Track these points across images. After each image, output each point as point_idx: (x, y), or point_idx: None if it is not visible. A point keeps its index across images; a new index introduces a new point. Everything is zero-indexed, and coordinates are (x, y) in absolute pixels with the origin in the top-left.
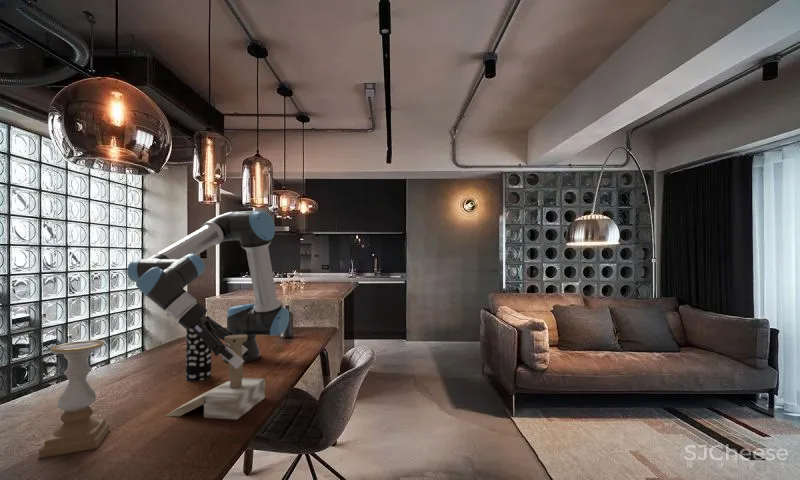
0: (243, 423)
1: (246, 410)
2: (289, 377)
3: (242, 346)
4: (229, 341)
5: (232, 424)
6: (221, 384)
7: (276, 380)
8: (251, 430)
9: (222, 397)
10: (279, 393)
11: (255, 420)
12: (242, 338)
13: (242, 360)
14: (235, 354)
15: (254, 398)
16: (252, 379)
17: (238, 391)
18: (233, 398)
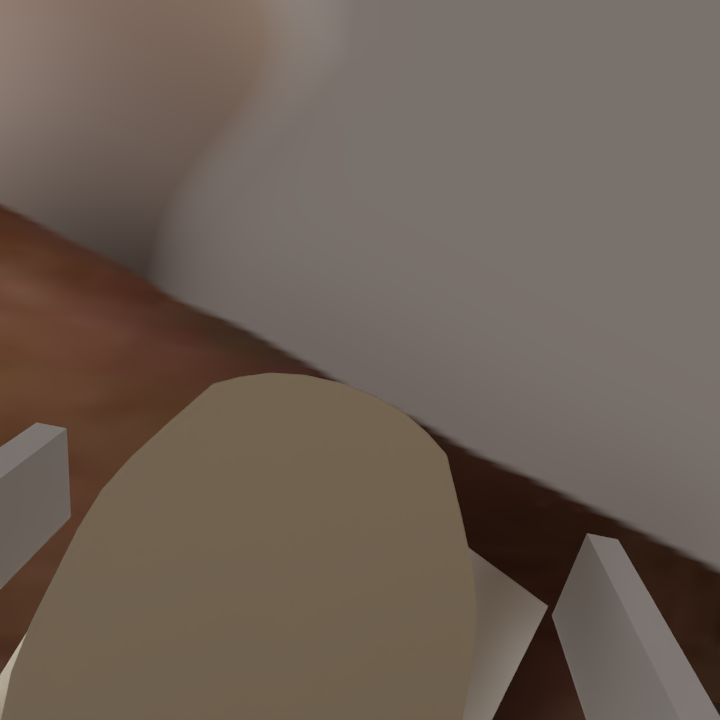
0: (561, 572)
1: None
2: (14, 243)
3: (10, 481)
4: None
5: (554, 631)
6: (6, 681)
7: (10, 310)
8: (655, 545)
9: (492, 715)
10: (237, 339)
11: (545, 510)
12: (450, 501)
13: (626, 557)
14: (685, 662)
15: None
16: None
17: None
18: (531, 632)
